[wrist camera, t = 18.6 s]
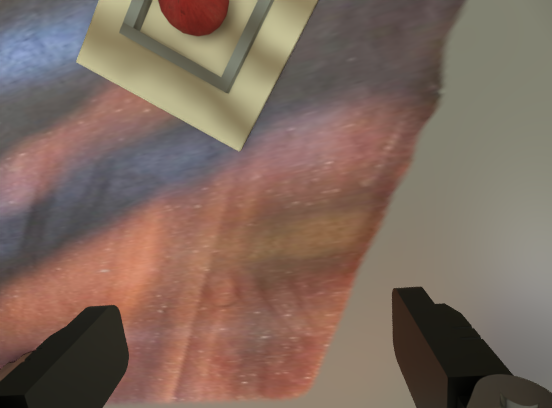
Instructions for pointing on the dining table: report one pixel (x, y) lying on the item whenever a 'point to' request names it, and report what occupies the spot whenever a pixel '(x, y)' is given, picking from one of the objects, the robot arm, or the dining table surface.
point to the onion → (195, 15)
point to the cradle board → (197, 60)
